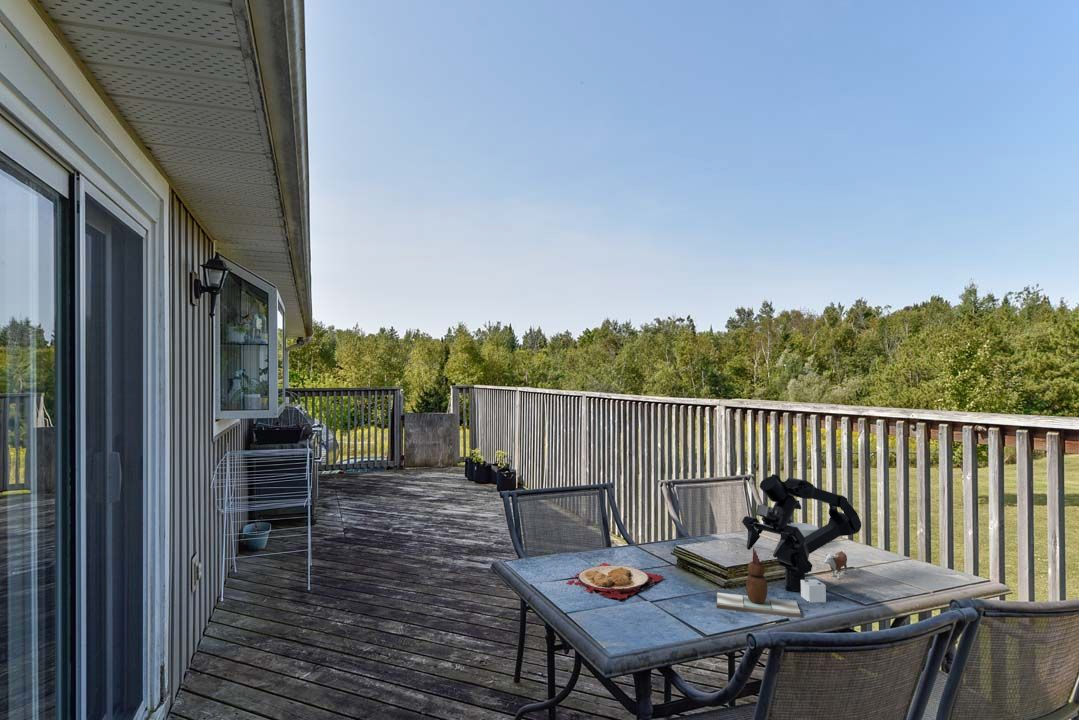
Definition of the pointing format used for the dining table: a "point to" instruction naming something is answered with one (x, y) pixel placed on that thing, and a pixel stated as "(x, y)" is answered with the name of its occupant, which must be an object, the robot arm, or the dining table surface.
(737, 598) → the board
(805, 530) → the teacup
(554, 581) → the dining table surface
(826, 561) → the bull figurine
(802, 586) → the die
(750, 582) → the wooden figurine
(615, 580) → the plate with food
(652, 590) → the dining table surface
